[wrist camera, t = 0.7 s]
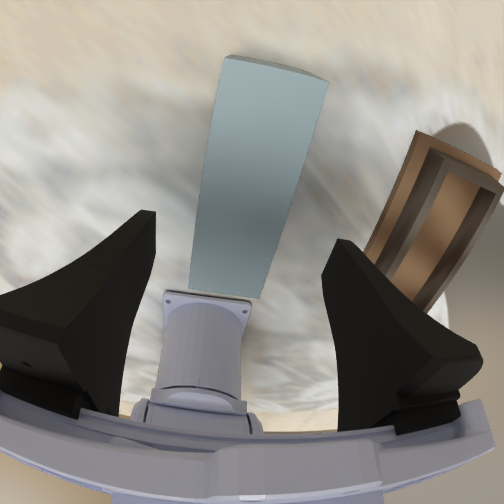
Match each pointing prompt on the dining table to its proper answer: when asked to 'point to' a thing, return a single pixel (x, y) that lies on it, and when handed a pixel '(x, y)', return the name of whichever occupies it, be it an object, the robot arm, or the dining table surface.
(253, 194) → the pale blue bar
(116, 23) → the dining table surface
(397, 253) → the cradle
